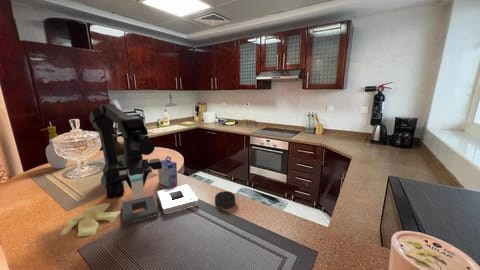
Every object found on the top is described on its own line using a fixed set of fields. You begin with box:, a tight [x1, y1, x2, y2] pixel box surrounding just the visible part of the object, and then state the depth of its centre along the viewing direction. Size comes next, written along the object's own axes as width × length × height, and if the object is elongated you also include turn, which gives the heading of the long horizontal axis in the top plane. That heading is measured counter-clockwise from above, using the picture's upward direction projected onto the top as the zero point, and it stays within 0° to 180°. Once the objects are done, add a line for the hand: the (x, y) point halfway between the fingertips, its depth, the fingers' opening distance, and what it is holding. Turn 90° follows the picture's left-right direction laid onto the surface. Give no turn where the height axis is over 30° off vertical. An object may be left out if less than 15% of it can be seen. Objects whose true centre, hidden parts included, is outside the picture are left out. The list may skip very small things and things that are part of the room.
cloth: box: [60, 203, 122, 237], centre depth 74 cm, size 22×19×6 cm
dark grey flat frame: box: [121, 195, 159, 226], centre depth 81 cm, size 12×14×2 cm
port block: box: [156, 184, 199, 215], centre depth 88 cm, size 14×16×3 cm
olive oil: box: [104, 133, 126, 166], centre depth 108 cm, size 11×11×25 cm
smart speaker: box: [214, 190, 236, 209], centre depth 87 cm, size 9×9×4 cm
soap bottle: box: [40, 126, 68, 170], centre depth 122 cm, size 14×9×26 cm, turn 67°
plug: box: [129, 174, 146, 200], centre depth 78 cm, size 4×6×8 cm, turn 30°
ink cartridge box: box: [157, 156, 178, 188], centre depth 104 cm, size 10×6×14 cm, turn 53°
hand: (137, 187), depth 79 cm, fingers closed on plug, 4 cm apart
